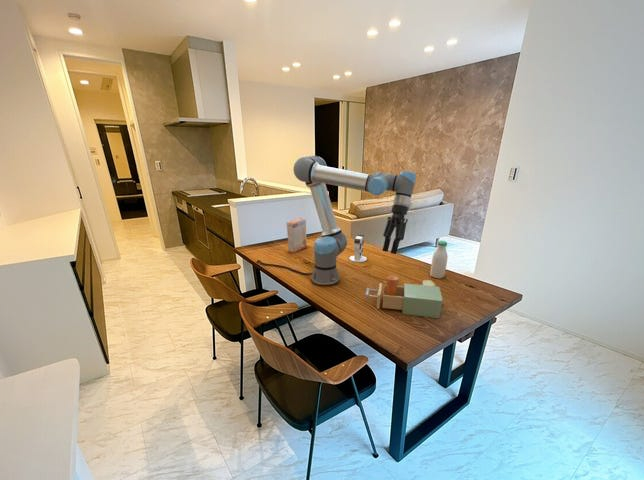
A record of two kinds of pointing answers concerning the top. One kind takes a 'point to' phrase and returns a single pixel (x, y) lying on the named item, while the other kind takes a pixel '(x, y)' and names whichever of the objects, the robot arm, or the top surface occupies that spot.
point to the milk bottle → (439, 261)
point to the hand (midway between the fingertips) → (389, 252)
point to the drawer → (389, 298)
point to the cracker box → (296, 235)
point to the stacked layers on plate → (428, 283)
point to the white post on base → (358, 249)
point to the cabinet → (422, 300)
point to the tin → (391, 285)
